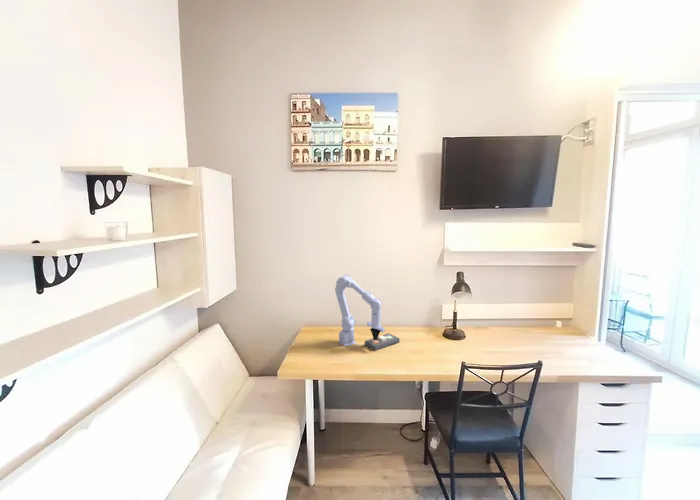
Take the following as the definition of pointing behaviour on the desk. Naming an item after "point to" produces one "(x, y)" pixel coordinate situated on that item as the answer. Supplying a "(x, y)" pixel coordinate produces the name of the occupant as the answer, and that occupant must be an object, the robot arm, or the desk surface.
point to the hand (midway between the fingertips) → (375, 339)
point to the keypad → (382, 344)
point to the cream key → (382, 338)
